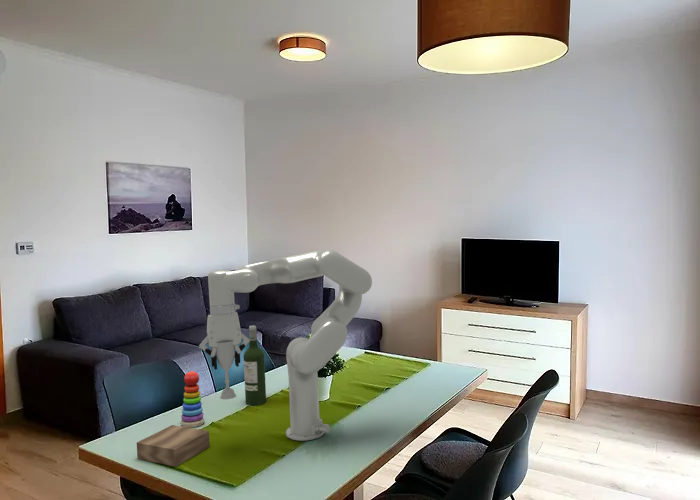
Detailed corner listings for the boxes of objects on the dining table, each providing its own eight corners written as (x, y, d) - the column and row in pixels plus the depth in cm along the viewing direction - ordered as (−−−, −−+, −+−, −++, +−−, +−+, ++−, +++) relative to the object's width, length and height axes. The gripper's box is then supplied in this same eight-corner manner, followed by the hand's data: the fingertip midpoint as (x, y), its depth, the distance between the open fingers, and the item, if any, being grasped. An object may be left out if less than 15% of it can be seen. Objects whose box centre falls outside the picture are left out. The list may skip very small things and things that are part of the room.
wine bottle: (241, 404, 211) (238, 327, 209) (252, 398, 218) (249, 323, 217) (259, 406, 208) (255, 328, 206) (270, 400, 215) (266, 324, 214)
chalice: (233, 400, 167) (229, 342, 166) (212, 400, 168) (209, 342, 167) (242, 393, 174) (239, 337, 173) (223, 392, 176) (219, 337, 175)
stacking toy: (183, 430, 187) (180, 376, 186) (179, 422, 194) (176, 370, 193) (206, 425, 190) (204, 372, 189) (201, 418, 197) (199, 367, 196)
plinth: (209, 446, 172) (208, 431, 172) (175, 466, 159) (175, 449, 158) (173, 440, 178) (172, 425, 178) (137, 458, 165) (136, 442, 165)
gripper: (248, 305, 176) (251, 360, 177) (192, 311, 170) (196, 368, 171) (252, 308, 169) (256, 366, 170) (194, 314, 163) (198, 374, 164)
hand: (226, 366), depth 171 cm, fingers closed on chalice, 6 cm apart
